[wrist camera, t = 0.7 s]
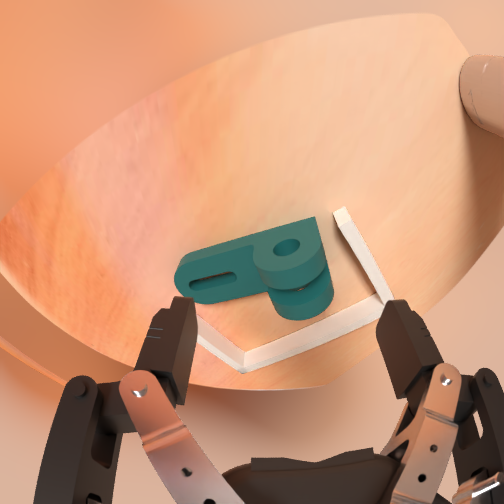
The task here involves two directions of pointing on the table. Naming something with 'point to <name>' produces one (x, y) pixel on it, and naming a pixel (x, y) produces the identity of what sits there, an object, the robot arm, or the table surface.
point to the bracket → (263, 270)
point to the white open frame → (316, 332)
